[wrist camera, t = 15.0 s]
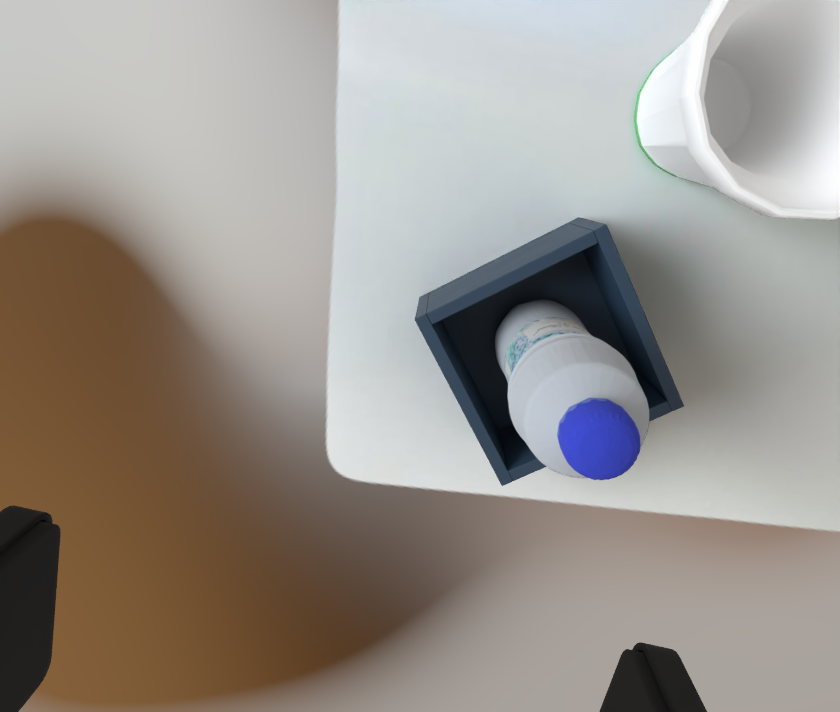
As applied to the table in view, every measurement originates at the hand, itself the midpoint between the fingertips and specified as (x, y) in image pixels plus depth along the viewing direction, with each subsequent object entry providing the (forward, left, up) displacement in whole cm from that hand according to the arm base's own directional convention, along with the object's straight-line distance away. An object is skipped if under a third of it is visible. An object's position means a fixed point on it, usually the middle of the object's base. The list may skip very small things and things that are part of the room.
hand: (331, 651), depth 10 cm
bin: (-6, +7, -36) cm, 37 cm away
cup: (-22, -2, -36) cm, 43 cm away
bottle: (-6, +7, -36) cm, 37 cm away
